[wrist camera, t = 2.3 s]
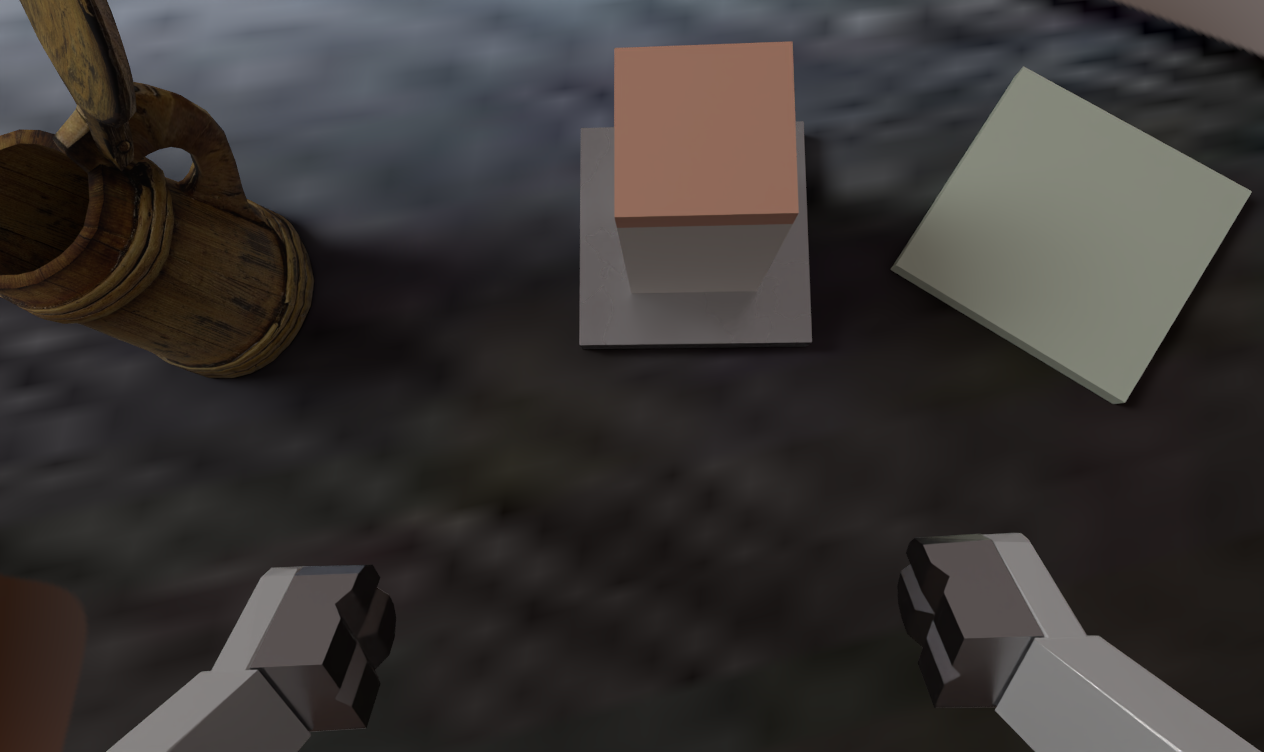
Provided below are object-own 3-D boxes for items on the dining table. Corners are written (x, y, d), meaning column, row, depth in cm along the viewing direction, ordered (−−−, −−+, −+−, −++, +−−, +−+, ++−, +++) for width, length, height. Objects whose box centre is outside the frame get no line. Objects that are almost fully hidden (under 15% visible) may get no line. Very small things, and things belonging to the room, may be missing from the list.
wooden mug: (416, 236, 34) (132, -14, 16) (215, 413, 33) (-316, 361, 15) (311, 119, 35) (-63, -237, 17) (115, 288, 34) (-487, 102, 16)
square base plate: (806, 346, 32) (839, 319, 26) (582, 349, 32) (562, 323, 26) (798, 133, 33) (828, 59, 27) (583, 139, 34) (565, 69, 28)
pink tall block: (756, 291, 31) (798, 213, 21) (631, 293, 31) (614, 217, 21) (753, 171, 32) (792, 41, 22) (630, 174, 32) (614, 47, 22)
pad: (1113, 404, 31) (1125, 402, 30) (890, 269, 32) (896, 264, 31) (1237, 198, 32) (1252, 191, 31) (1014, 76, 33) (1023, 66, 32)
